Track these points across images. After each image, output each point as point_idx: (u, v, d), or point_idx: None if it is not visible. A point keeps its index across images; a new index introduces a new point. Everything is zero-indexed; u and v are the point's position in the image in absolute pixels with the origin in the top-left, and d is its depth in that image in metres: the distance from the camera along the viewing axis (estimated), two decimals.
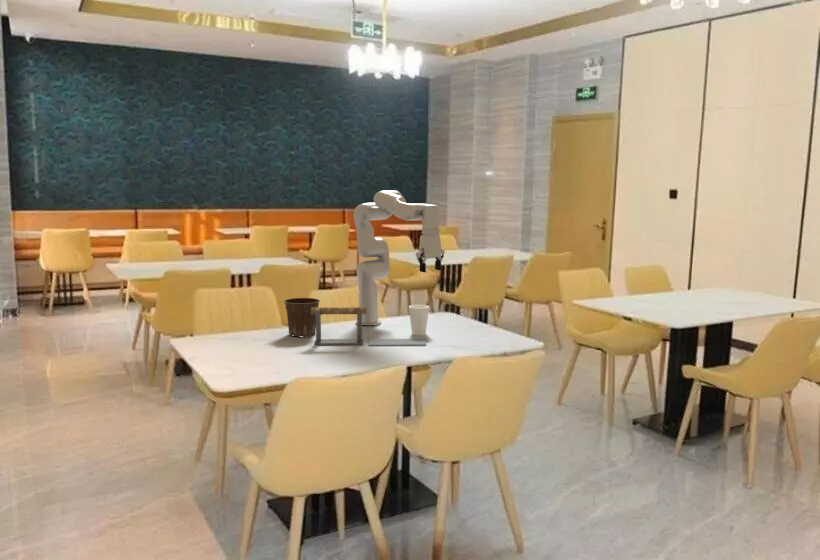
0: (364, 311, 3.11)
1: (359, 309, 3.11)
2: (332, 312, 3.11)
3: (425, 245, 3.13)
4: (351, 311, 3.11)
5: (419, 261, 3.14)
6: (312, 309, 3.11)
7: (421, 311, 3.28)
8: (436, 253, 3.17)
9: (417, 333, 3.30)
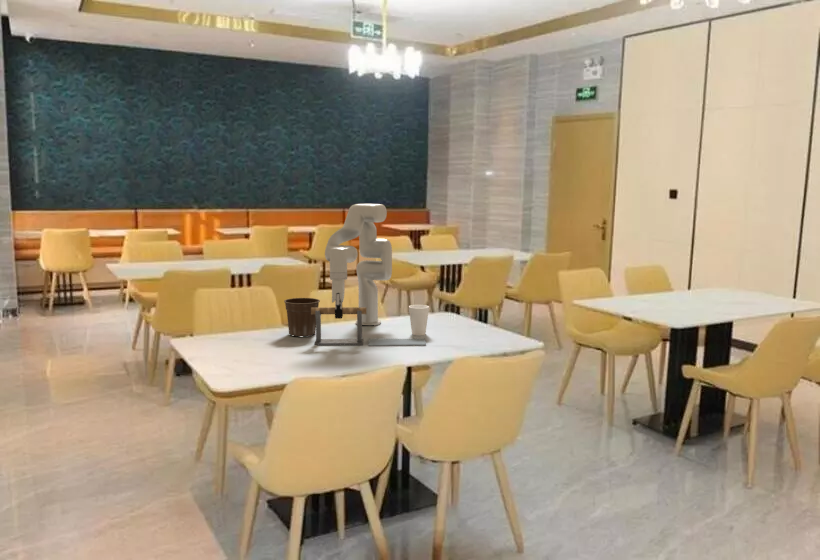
0: (364, 311, 3.11)
1: (359, 309, 3.11)
2: (332, 312, 3.11)
3: (341, 289, 3.07)
4: (351, 311, 3.11)
5: (337, 308, 3.09)
6: (312, 309, 3.11)
7: (421, 311, 3.28)
8: None
9: (417, 333, 3.30)
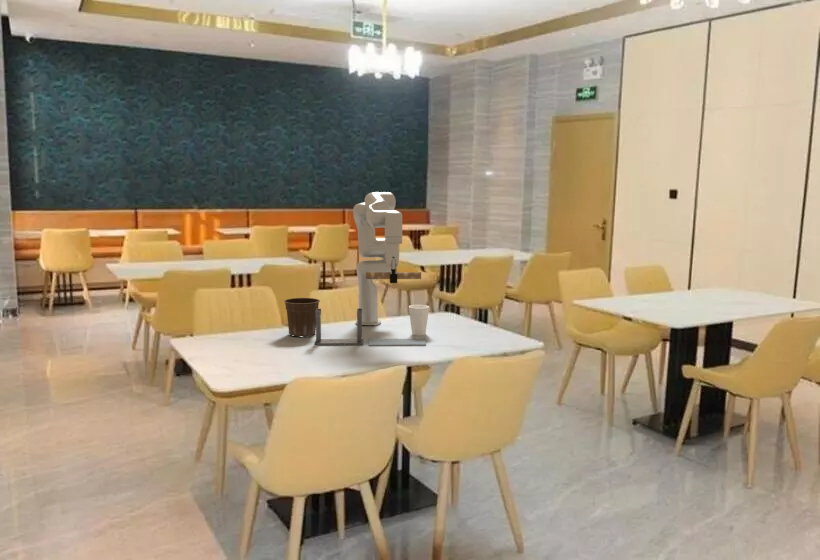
0: (419, 276, 3.10)
1: (414, 274, 3.10)
2: (387, 277, 3.10)
3: (397, 253, 3.05)
4: (405, 276, 3.10)
5: (392, 272, 3.07)
6: (367, 274, 3.10)
7: (421, 311, 3.28)
8: None
9: (417, 333, 3.30)
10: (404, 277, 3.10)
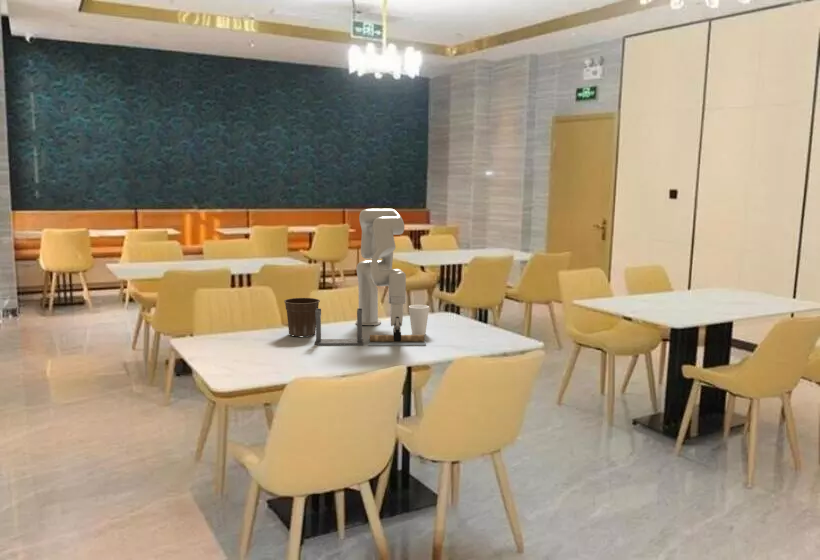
0: (422, 338, 3.14)
1: (417, 337, 3.14)
2: (391, 340, 3.14)
3: (400, 313, 3.09)
4: (409, 339, 3.14)
5: (396, 331, 3.09)
6: (371, 337, 3.14)
7: (421, 311, 3.28)
8: None
9: (417, 333, 3.30)
10: (407, 340, 3.14)
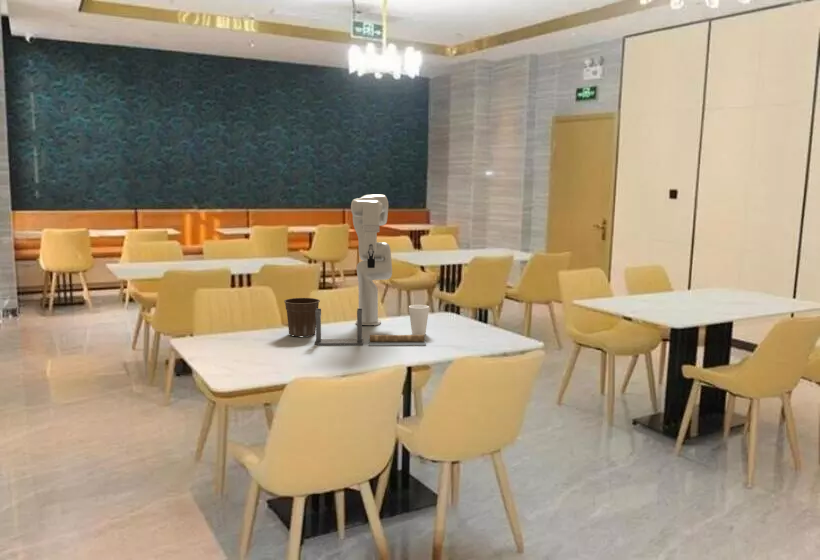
0: (422, 339, 3.14)
1: (417, 337, 3.14)
2: (391, 340, 3.14)
3: (374, 241, 3.18)
4: (409, 339, 3.14)
5: (370, 257, 3.17)
6: (371, 337, 3.13)
7: (421, 311, 3.28)
8: None
9: (417, 333, 3.30)
10: (407, 340, 3.14)
